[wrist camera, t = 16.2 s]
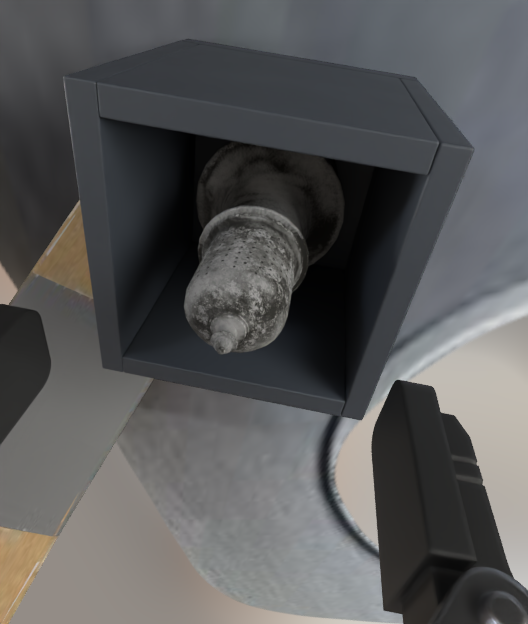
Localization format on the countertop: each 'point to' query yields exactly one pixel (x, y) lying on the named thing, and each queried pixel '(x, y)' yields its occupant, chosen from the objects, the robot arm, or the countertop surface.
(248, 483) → the countertop surface
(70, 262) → the sandwich container
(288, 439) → the countertop surface
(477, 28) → the countertop surface
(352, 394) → the trash bin
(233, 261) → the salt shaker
